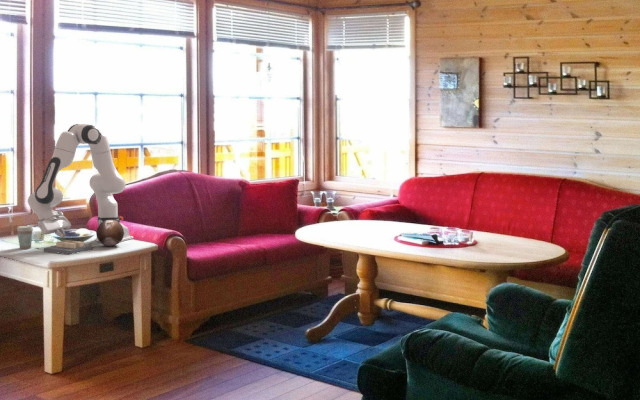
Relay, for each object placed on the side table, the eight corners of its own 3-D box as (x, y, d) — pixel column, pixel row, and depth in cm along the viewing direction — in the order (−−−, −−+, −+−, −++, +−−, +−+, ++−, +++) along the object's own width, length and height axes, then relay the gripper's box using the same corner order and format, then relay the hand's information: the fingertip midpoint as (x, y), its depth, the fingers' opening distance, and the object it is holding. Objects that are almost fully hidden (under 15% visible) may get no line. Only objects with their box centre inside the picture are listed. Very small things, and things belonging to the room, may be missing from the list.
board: (65, 246, 457) (65, 242, 456) (92, 249, 450) (92, 245, 450) (43, 251, 440) (43, 248, 440) (70, 254, 433) (70, 250, 433)
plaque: (66, 240, 450) (83, 241, 445) (66, 244, 450) (83, 246, 446) (56, 242, 442) (74, 244, 438) (56, 247, 443) (74, 249, 438)
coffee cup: (19, 250, 444) (19, 228, 442) (15, 247, 451) (14, 226, 449) (35, 248, 449) (35, 227, 448) (31, 246, 456) (30, 225, 454)
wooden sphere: (98, 249, 450) (97, 222, 448) (95, 244, 464) (94, 218, 462) (126, 247, 456) (125, 221, 454) (122, 243, 469) (121, 217, 468)
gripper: (38, 216, 437) (53, 235, 434) (64, 211, 456) (78, 230, 453) (32, 224, 439) (47, 243, 437) (58, 219, 458) (72, 237, 455)
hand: (63, 236), depth 445 cm, fingers closed
